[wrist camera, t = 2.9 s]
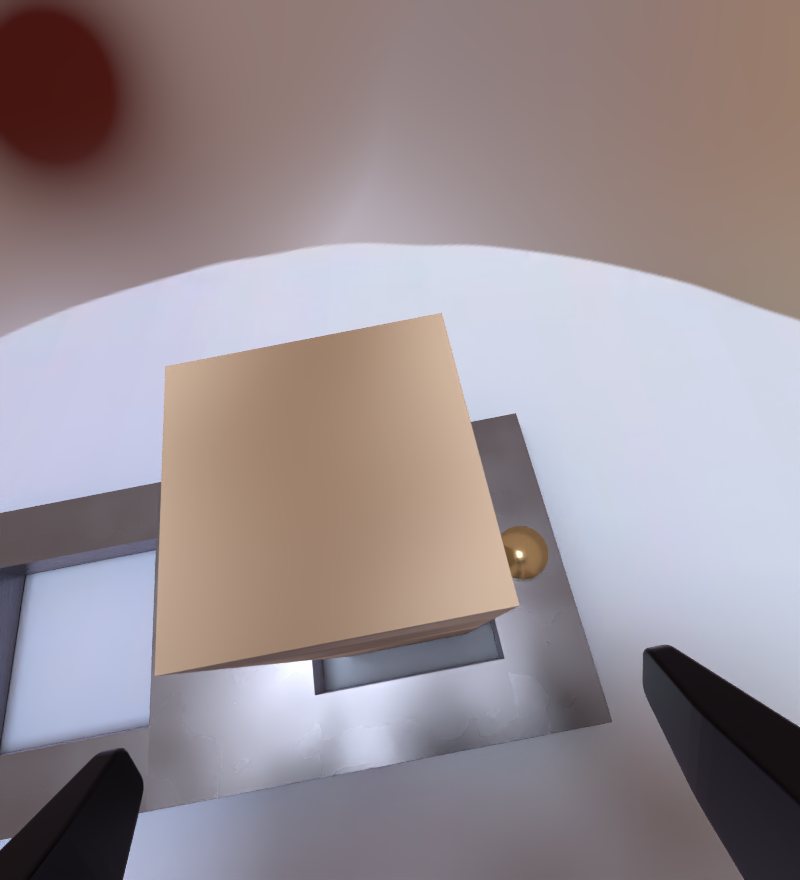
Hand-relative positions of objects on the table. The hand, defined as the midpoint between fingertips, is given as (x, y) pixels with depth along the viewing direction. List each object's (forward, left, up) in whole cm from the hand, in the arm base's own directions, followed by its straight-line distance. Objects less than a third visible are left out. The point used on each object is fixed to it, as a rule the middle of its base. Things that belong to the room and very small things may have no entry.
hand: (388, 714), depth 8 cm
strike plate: (+7, +2, -10) cm, 12 cm away
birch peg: (+2, -2, -10) cm, 10 cm away
